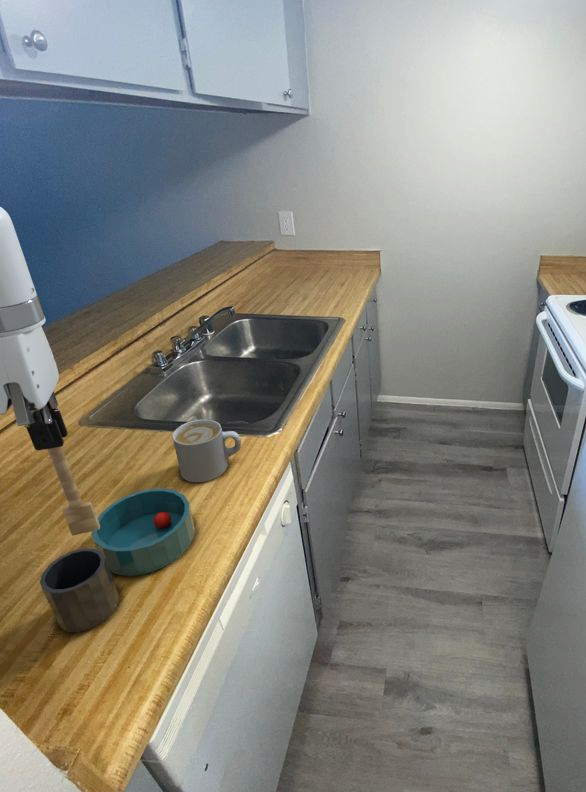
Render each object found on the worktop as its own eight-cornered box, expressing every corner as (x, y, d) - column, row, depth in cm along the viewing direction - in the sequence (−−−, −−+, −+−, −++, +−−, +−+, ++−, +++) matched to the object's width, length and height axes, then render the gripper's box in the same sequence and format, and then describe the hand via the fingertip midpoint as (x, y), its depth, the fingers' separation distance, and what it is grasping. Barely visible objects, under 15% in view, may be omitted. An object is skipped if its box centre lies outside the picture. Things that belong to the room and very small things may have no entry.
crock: (53, 640, 71) (33, 600, 66) (64, 595, 77) (47, 556, 73) (115, 621, 74) (100, 582, 69) (121, 580, 80) (107, 542, 76)
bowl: (94, 587, 79) (85, 561, 76) (107, 523, 92) (98, 499, 89) (195, 560, 84) (189, 536, 82) (193, 503, 97) (188, 481, 94)
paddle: (71, 537, 71) (20, 412, 60) (73, 530, 72) (24, 406, 62) (99, 531, 72) (53, 408, 62) (100, 524, 73) (56, 402, 63)
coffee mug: (176, 484, 102) (167, 447, 97) (185, 457, 111) (177, 421, 106) (241, 477, 105) (235, 440, 100) (244, 451, 113) (239, 416, 109)
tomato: (155, 533, 89) (151, 521, 87) (155, 522, 91) (152, 511, 90) (172, 529, 90) (169, 517, 89) (172, 518, 92) (169, 507, 91)
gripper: (-13, 297, 61) (34, 418, 69) (-67, 343, 48) (0, 484, 57) (56, 292, 63) (93, 409, 72) (22, 335, 51) (73, 471, 59)
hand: (52, 441), depth 64 cm, fingers closed on paddle, 1 cm apart
